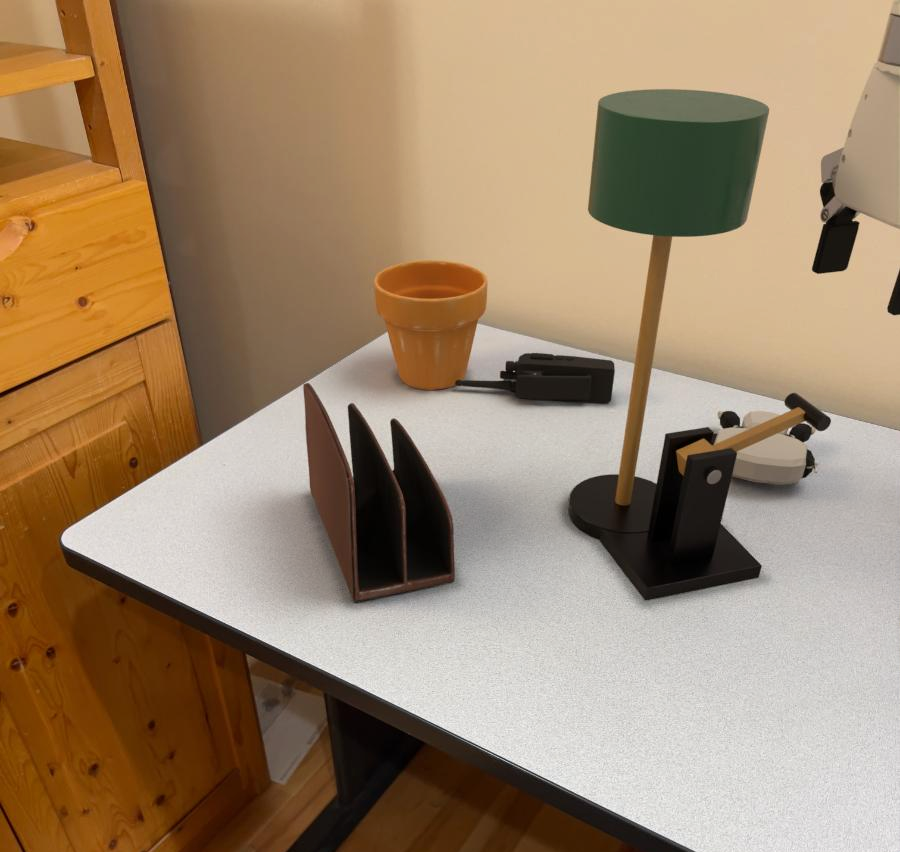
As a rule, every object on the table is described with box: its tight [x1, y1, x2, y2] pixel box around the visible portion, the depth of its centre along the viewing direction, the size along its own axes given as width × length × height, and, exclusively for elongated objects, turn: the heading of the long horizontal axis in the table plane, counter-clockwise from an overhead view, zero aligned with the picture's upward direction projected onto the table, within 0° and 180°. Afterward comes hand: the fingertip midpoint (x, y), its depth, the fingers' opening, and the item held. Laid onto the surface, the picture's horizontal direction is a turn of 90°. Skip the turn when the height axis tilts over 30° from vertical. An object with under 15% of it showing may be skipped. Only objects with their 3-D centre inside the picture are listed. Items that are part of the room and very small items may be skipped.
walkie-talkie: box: [455, 352, 616, 403], centre depth 112 cm, size 6×6×20 cm
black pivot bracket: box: [599, 426, 763, 602], centre depth 82 cm, size 12×10×13 cm
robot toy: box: [711, 410, 819, 486], centre depth 99 cm, size 12×4×15 cm
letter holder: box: [302, 382, 456, 604], centre depth 85 cm, size 10×20×14 cm, turn 18°
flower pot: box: [373, 259, 488, 391], centre depth 114 cm, size 14×14×13 cm
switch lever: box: [676, 392, 832, 476], centre depth 79 cm, size 13×5×2 cm, turn 107°
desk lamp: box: [567, 88, 770, 541], centre depth 80 cm, size 13×13×38 cm
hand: (865, 290), depth 73 cm, fingers open, 9 cm apart
